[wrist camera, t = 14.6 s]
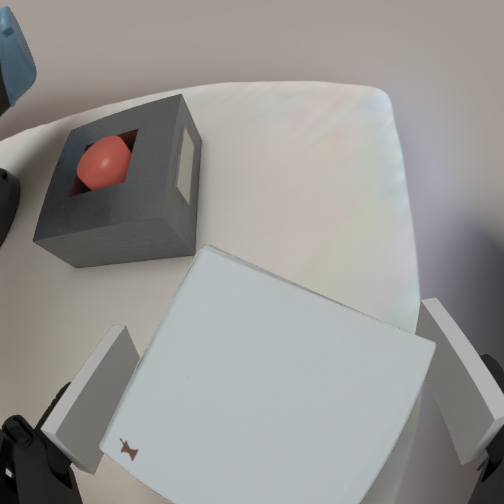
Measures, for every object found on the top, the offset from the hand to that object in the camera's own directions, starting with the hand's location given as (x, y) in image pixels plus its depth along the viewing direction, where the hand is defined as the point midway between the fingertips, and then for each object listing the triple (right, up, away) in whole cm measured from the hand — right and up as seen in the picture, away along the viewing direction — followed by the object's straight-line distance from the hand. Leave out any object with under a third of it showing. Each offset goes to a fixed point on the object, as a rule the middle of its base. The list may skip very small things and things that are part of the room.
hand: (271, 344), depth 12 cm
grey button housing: (-11, +9, +13) cm, 20 cm away
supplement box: (+1, -5, +6) cm, 8 cm away
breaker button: (-12, +9, +12) cm, 19 cm away
